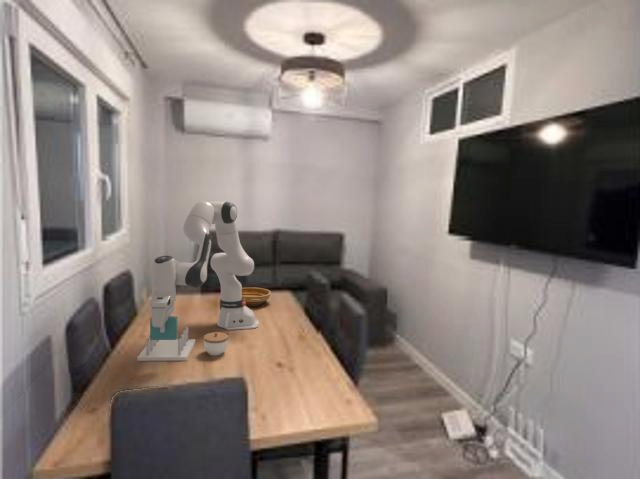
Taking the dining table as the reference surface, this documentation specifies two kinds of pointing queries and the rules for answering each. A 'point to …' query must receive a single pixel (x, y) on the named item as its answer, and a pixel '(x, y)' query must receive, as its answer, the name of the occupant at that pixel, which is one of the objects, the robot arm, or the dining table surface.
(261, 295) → the brown woven oval bowl
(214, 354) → the lidded jar
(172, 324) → the teal tile
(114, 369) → the dining table surface
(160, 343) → the dish rack
